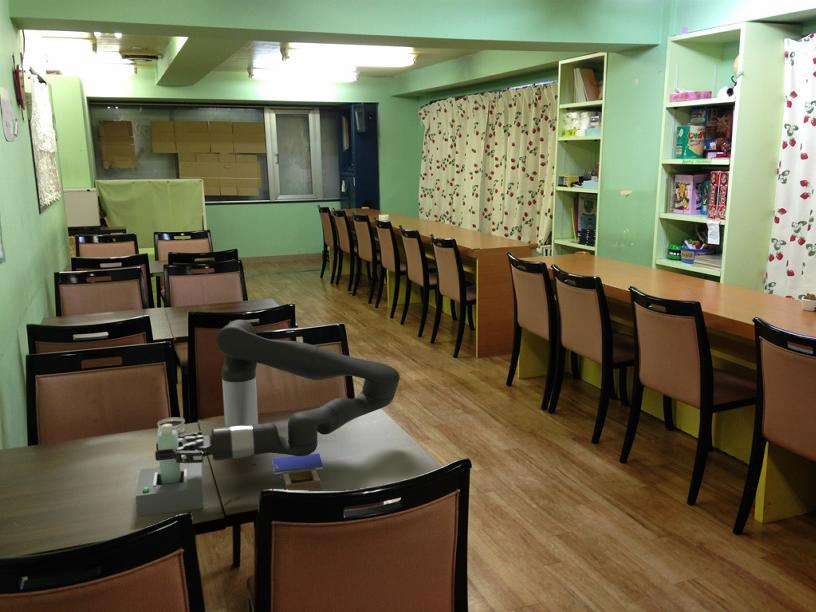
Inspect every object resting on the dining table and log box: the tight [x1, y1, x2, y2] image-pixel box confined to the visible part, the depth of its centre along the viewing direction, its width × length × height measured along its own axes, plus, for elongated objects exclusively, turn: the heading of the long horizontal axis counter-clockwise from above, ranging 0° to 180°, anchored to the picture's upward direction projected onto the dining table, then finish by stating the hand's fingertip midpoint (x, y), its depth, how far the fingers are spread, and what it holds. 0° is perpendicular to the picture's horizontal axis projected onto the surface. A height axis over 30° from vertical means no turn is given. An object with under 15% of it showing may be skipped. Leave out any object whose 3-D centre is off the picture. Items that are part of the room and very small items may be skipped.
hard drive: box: [271, 453, 324, 475], centre depth 178 cm, size 2×8×12 cm
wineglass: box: [157, 417, 186, 465], centre depth 176 cm, size 7×7×12 cm
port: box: [135, 462, 204, 518], centre depth 160 cm, size 14×14×6 cm
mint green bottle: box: [156, 424, 182, 485], centre depth 158 cm, size 4×4×14 cm
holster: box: [282, 468, 322, 492], centre depth 167 cm, size 8×8×2 cm
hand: (156, 451), depth 157 cm, fingers closed on mint green bottle, 4 cm apart
